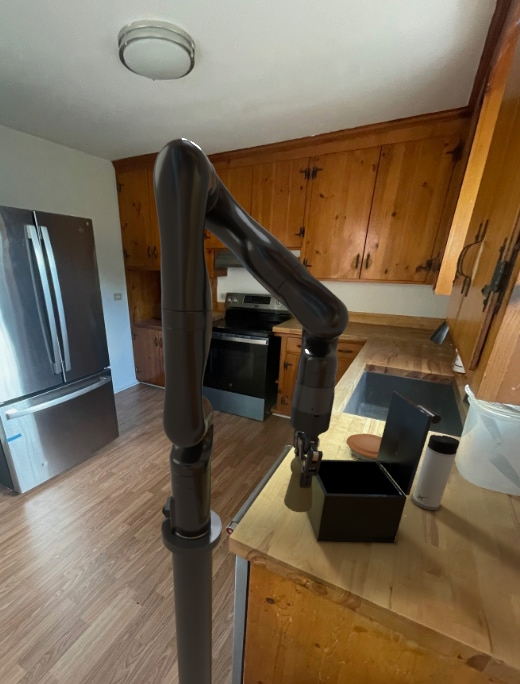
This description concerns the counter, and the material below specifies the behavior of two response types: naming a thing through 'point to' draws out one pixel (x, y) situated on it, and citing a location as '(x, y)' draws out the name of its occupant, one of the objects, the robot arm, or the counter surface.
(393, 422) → the lid
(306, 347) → the robot arm
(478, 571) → the counter surface
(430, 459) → the travel mug
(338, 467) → the black open box
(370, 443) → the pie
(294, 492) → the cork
